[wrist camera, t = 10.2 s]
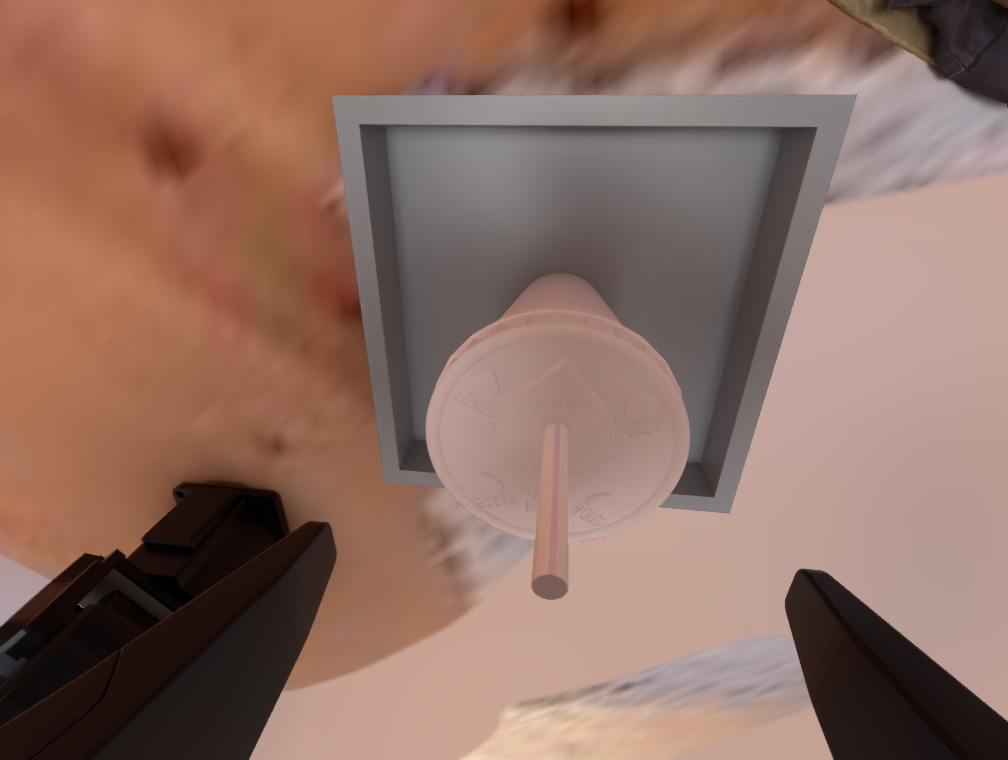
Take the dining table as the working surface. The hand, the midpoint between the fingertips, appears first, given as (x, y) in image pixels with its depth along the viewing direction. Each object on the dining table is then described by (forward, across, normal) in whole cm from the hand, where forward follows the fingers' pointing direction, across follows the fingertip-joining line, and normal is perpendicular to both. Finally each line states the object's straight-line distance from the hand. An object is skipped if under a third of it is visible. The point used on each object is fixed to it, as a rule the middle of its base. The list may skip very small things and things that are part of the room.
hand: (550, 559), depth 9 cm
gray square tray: (+13, 0, -1) cm, 13 cm away
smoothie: (+12, 0, -1) cm, 13 cm away
